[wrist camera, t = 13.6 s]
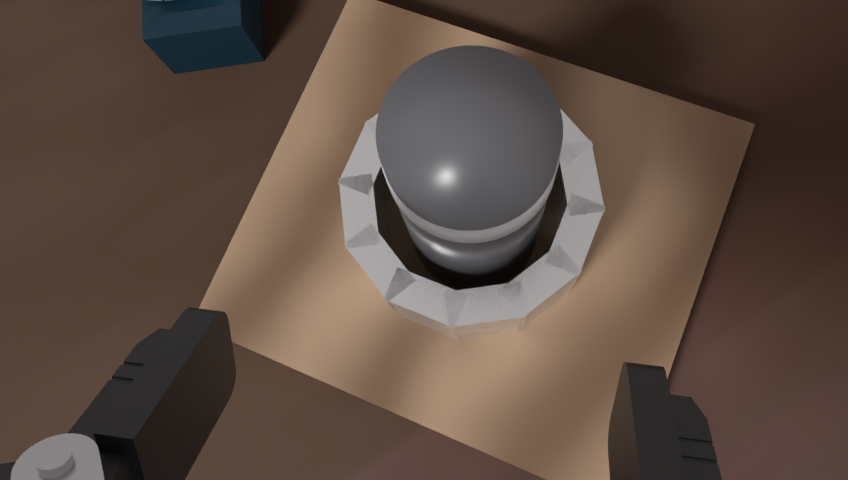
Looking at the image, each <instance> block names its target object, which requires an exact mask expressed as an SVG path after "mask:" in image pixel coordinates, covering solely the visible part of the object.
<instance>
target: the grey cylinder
mask: <svg viewBox="0 0 848 480" xmlns="http://www.w3.org/2000/svg"><path fill="white" fill-rule="evenodd" d="M562 141H563V121H562V114H561V110H560V107H559V103H558V101H557V99H556V97H555V94H554V92H553V91H552V89H551V87H550V86H549V84H548V83H547V81H546V80H545V79H544V78H543V77H542V75H541V74H540V73H539V72H538V71H537V70H535V69H534V68H533V67H532V66H531V65H529V64H528V63H527V62H525V61H524V60H522V59H521V58H519V57H517V56H515V55H513V54H511V53H508V52H506V51H503V50H500V49H496V48H492V47H487V46H478V45H464V46H456V47H451V48H446V49H442V50H439V51H437V52H434V53H431V54H429V55H427V56H425V57H423V58H421V59H420V60H418V61H417V62H415V63H414V64H412V65H411V66H410V67H408V68H407V69H406V70H405V71H404V72H403V73H402V74H401V75H400V76H399V77H398V78H397V79H396V80H395V81H394V83H393V84H392V86H391V87H390V88H389V90H388V91H387V93H386V95H385V97H384V99H383V101H382V104H381V107H380V109H379V113H378V117H377V122H376V146H377V151H378V156H379V159H380V162H381V166H382V171H383V174H384V176H385V179H386V182H387V184H388V187H389V189H390V192H391V194H392V196H393V198H394V200H395V202H396V204H397V205H398V207H399V209H400V212H401V214H402V217H403V219H404V222H405V224H406V227H407V229H408V232H409V234H410V237H411V239H412V242H413V244H414V247H415V249H416V252H417V254H418V256H419V258H420V260H421V261H422V263H423V264H424V266H425V267H426V268H427V269H428V270H429V271H430V272H431V273H432V274H433V275H434V276H435V277H437V278H438V279H440V280H441V281H443V282H445V283H447V284H449V285H451V286H454V287H458V288H462V289H470V288H477V287H484V286H491V285H498V284H502V283H504V282H506V281H508V280H509V279H510V278H512V277H513V276H515V275H516V274H517V273H518V272H519V271H520V270H521V269H522V268H523V267H524V265H525V264H526V263H527V261H528V259H529V258H530V256H531V254H532V251H533V249H534V246H535V242H536V239H537V235H538V231H539V228H540V224H541V221H542V217H543V213H544V210H545V206H546V202H547V199H548V196H549V194H550V192H551V189H552V186H553V183H554V180H555V176H556V173H557V169H558V166H559V161H560V154H561V147H562Z"/></svg>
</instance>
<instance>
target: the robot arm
mask: <svg viewBox="0 0 848 480" xmlns="http://www.w3.org/2000/svg"><path fill="white" fill-rule="evenodd" d="M235 377H236V367H235V360H234V353H233V346H232V339H231V333H230V326H229V320H228V316H227V314H226V313H225V312H223V311H215V310H207V309H199V308H187V309H186V310H185V311H184V312H183V313H182V314H181V316H180V317H179V318H178V320H177V321H176V322H175V324H174V325H173V326H172V328H171V329H170V330H167V329H159V330H157V331H156V332H154V333H153V334H151V335H150V336H148V337H147V338H145V339H144V340H142V341H141V342H139V343H138V344H137V345H136V346H135V348H134V349H133V350H132V352H131V353H130V354H129V355H128V357H127V358H126V359H125V361H124V364H123V365H121V366H120V367H119V368H118V369H117V371H116V372H115V373H114V375H113V376H112V380H109V381H108V382H107V384H106V385H105V386H104V387H103V389H102V390H101V391H100V393H99V394H98V395H97V396H96V398H95V399H94V400H93V401H92V403H91V404H90V405H89V407H88V408H87V409H86V410H85V412H84V413H83V414H82V416H81V417H80V418H79V419H78V421H77V422H76V423H75V425H74V426H73V427H72V428H71V430H70V431H69V432H68V433H67V434H60V435H56V436H52V437H50V438H47V439H44V440H42V441H40V442H38V443H36V444H35V445H33V446H32V447H30V448H29V449H28V450H26V451H25V452H24V453H23V454H22V455H21V456H20V457H19V459H18V460H17V461H16V462H12V463H4V464H0V480H185V478H186V476H187V475H188V473H189V471H190V469H191V467H192V466H193V464H194V462H195V460H196V458H197V456H198V455H199V453H200V451H201V449H202V447H203V446H204V444H205V442H206V440H207V438H208V437H209V435H210V433H211V431H212V429H213V428H214V426H215V424H216V422H217V420H218V419H219V417H220V415H221V413H222V411H223V410H224V408H225V406H226V404H227V402H228V401H229V399H230V397H231V394H232V391H233V388H234V384H235ZM712 442H713V441H712V437H711V433H710V429H709V425H708V421H707V418H706V417H705V415H704V414H703V413H702V411H701V410H700V409H699V407H698V406H697V405H696V404H695V402H694V401H693V400H692V398H691V397H685V396H677V395H670V391H669V386H668V381H667V375H666V371H665V368H664V367H663V366H655V365H646V364H638V363H630V362H624V363H623V365H622V368H621V372H620V377H619V381H618V386H617V390H616V395H615V399H614V404H613V408H612V413H611V417H610V423H609V431H608V459H609V472H610V480H722V478H721V474H720V470H719V466H718V465H717V458H716V454H715V450H714V446H712Z"/></svg>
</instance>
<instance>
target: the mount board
mask: <svg viewBox="0 0 848 480" xmlns="http://www.w3.org/2000/svg"><path fill="white" fill-rule="evenodd" d="M464 45H478V46H487V47H492V48H496V49H500V50H503V51H506V52H508V53H511V54H513V55H515V56H517V57H519V58H521V59H522V60H524V61H525V62H527V63H528V64H529V65H531V66H532V67H533V68H534V69H535V70H537V71H538V72H539V73H540V74H541V75H542V77H543V78H544V79H545V80H546V81H547V83H548V84H549V86H550V87H551V89H552V91H553V92H554V94H555V97H556V99H557V101H558V103H559V107H560V109H561V110H562V111H563V112H564V113H565V114H566V115H567V116H568V117H569V118H570V120H571V121H572V122H573V123H574V124H575V125H576V126H577V127H578V128H579V130H580V131H581V132H582V133H583V134H584V135H585V136H586V137H587V138H588V139H589V141H590V140H591V142H592V144H593V153H594V158H595V163H596V168H597V173H598V178H599V183H600V188H601V193H602V198H603V203H604V206H605V212H604V214H603V216H602V218H601V219H600V221H599V224H598V227H597V229H596V232H595V235H594V237H593V240H592V243H591V245H590V248H589V250H588V253H587V256H586V258H585V261H584V264H583V266H582V269H581V270H582V272H581V274H580V276H579V277H578V279H577V281H576V282H575V284H574V286H573V287H572V289H571V291H570V292H569V293H568V295H565V296H564V297H562V298H561V299H560V300H559V301H557V302H556V303H555V304H553V305H552V306H551V307H550V308H548V309H547V310H546V311H544V312H543V313H542V314H541V315H539V316H538V317H537V318H536V319H534V320H533V321H532V322H530V323H529V324H528V325H527V326H525V327H524V328H523V329H522V331H519V332H518V333H517V332H509V333H502V334H495V335H487V336H480V337H473V338H465V339H460V340H455V339H454V338H453V337H450V336H448V335H445V334H443V333H440V332H438V331H436V330H433V329H431V328H428V327H426V326H423V325H421V324H419V323H416V322H414V321H411V320H409V319H406V318H404V317H403V318H402V317H401V316H399V315H398V314H397V313H396V312H395V311H394V310H393V309H392V308H391V307H390V305H389V304H388V303H387V302H386V301H385V300H384V297H383V295H382V294H381V293H380V291H379V290H378V289H377V287H376V286H375V285H374V283H373V282H372V281H371V279H370V278H369V277H368V275H367V274H366V273H365V271H364V270H363V269H362V267H361V266H360V265H359V264H358V262H357V261H356V260H355V259H354V258H353V256H352V255H351V254H350V253H349V252H348V251H347V250H346V247H345V245H344V243H345V237H344V227H343V217H342V207H341V197H340V187H339V184H338V182H339V178H341V175H342V173H343V171H344V169H345V167H346V165H347V162H348V160H349V158H350V156H351V154H352V151H353V149H354V147H355V145H356V143H357V141H358V138H359V136H360V134H361V132H362V130H363V128H364V123H365V122H366V121H367V120H370V119H371V118H372V117H374V116H375V115H376V114H378V113H379V109H380V107H381V104H382V101H383V99H384V97H385V95H386V93H387V91H388V90H389V88H390V87H391V86H392V84H393V83H394V81H395V80H396V79H397V78H398V77H399V76H400V75H401V74H402V73H403V72H404V71H405V70H406V69H407V68H408V67H410V66H411V65H412V64H414V63H415V62H417V61H418V60H420V59H421V58H423V57H425V56H427V55H429V54H431V53H434V52H437V51H439V50H442V49H446V48H451V47H456V46H464ZM754 126H755V124H753V123H750V122H747V121H744V120H741V119H738V118H735V117H732V116H729V115H726V114H723V113H720V112H717V111H714V110H711V109H708V108H704V107H701V106H698V105H695V104H692V103H689V102H686V101H683V100H680V99H677V98H674V97H671V96H668V95H665V94H662V93H659V92H656V91H653V90H649V89H646V88H643V87H640V86H637V85H634V84H631V83H628V82H625V81H622V80H619V79H616V78H613V77H610V76H607V75H604V74H601V73H598V72H594V71H591V70H588V69H585V68H582V67H579V66H576V65H573V64H570V63H567V62H564V61H561V60H558V59H555V58H552V57H549V56H546V55H543V54H539V53H536V52H533V51H530V50H527V49H524V48H521V47H518V46H515V45H512V44H509V43H506V42H503V41H500V40H497V39H494V38H491V37H488V36H484V35H481V34H478V33H475V32H472V31H469V30H466V29H463V28H460V27H457V26H454V25H451V24H448V23H445V22H442V21H439V20H436V19H433V18H429V17H426V16H423V15H420V14H417V13H414V12H411V11H408V10H405V9H402V8H399V7H396V6H393V5H390V4H387V3H384V2H381V1H378V0H348V1H347V3H346V5H345V7H344V9H343V11H342V13H341V15H340V17H339V19H338V21H337V23H336V25H335V28H334V30H333V32H332V34H331V36H330V38H329V40H328V42H327V44H326V46H325V48H324V50H323V52H322V54H321V56H320V59H319V61H318V63H317V65H316V67H315V69H314V71H313V73H312V75H311V77H310V79H309V81H308V83H307V85H306V87H305V90H304V92H303V94H302V96H301V98H300V100H299V102H298V104H297V106H296V108H295V110H294V112H293V114H292V116H291V118H290V121H289V123H288V125H287V127H286V129H285V131H284V133H283V135H282V137H281V139H280V141H279V143H278V145H277V147H276V150H275V152H274V154H273V156H272V158H271V160H270V162H269V164H268V166H267V168H266V170H265V172H264V174H263V176H262V178H261V181H260V183H259V185H258V187H257V189H256V191H255V193H254V195H253V197H252V199H251V201H250V203H249V205H248V207H247V209H246V212H245V214H244V216H243V218H242V220H241V222H240V224H239V226H238V228H237V230H236V232H235V234H234V236H233V238H232V240H231V243H230V245H229V247H228V249H227V251H226V253H225V255H224V257H223V259H222V261H221V263H220V265H219V267H218V269H217V271H216V274H215V276H214V278H213V280H212V282H211V284H210V286H209V288H208V290H207V292H206V294H205V296H204V298H203V300H202V302H201V305H200V307H199V309H207V310H215V311H223V312H225V313H226V314H227V316H228V320H229V326H230V333H231V339H232V342H234V343H236V344H238V345H241V346H243V347H245V348H247V349H250V350H252V351H254V352H257V353H259V354H261V355H263V356H266V357H268V358H270V359H273V360H275V361H277V362H279V363H282V364H284V365H286V366H288V367H291V368H293V369H295V370H298V371H300V372H302V373H304V374H307V375H309V376H311V377H314V378H316V379H318V380H320V381H323V382H325V383H327V384H330V385H332V386H334V387H336V388H339V389H341V390H343V391H345V392H348V393H350V394H352V395H355V396H357V397H359V398H361V399H364V400H366V401H368V402H371V403H373V404H375V405H377V406H380V407H382V408H384V409H386V410H389V411H391V412H393V413H396V414H398V415H400V416H402V417H405V418H407V419H409V420H412V421H414V422H416V423H418V424H421V425H423V426H425V427H428V428H430V429H432V430H434V431H437V432H439V433H441V434H443V435H446V436H448V437H450V438H453V439H455V440H457V441H459V442H462V443H464V444H466V445H469V446H471V447H473V448H475V449H478V450H480V451H482V452H485V453H487V454H489V455H491V456H494V457H496V458H498V459H500V460H503V461H505V462H507V463H510V464H512V465H514V466H516V467H519V468H521V469H523V470H526V471H528V472H530V473H532V474H535V475H537V476H539V477H542V478H544V479H546V480H610V472H609V459H608V431H609V423H610V417H611V413H612V408H613V404H614V399H615V395H616V390H617V386H618V381H619V377H620V372H621V368H622V365H623V363H624V362H630V363H638V364H646V365H655V366H663V367H664V368H665V371H666V375H667V379H668V376H669V373H670V370H671V367H672V364H673V361H674V358H675V355H676V352H677V349H678V347H679V344H680V341H681V338H682V335H683V332H684V329H685V326H686V323H687V320H688V318H689V315H690V312H691V309H692V306H693V303H694V300H695V297H696V294H697V291H698V289H699V286H700V283H701V280H702V277H703V274H704V271H705V268H706V265H707V262H708V259H709V257H710V254H711V251H712V248H713V245H714V242H715V239H716V236H717V233H718V230H719V228H720V225H721V222H722V219H723V216H724V213H725V210H726V207H727V204H728V201H729V199H730V196H731V193H732V190H733V187H734V184H735V181H736V178H737V175H738V172H739V169H740V167H741V164H742V161H743V158H744V155H745V152H746V149H747V146H748V143H749V140H750V138H751V135H752V132H753V129H754ZM389 220H390V229H391V238H392V246H393V252H394V253H395V255H396V256H397V257H398V258H399V260H400V261H401V262H402V264H403V265H404V266H405V268H406V269H407V270H408V271H409V272H411V273H414V274H416V275H419V276H421V277H424V278H426V279H429V280H431V281H434V282H436V283H439V284H441V285H444V286H446V287H449V288H451V289H454V290H463V289H462V288H458V287H454V286H451V285H449V284H447V283H445V282H443V281H441V280H440V279H438V278H437V277H435V276H434V275H433V274H432V273H431V272H430V271H429V270H428V269H427V268H426V267H425V266H424V264H423V263H422V261H421V260H420V258H419V256H418V254H417V252H416V249H415V247H414V244H413V242H412V239H411V237H410V234H409V232H408V229H407V227H406V224H405V222H404V219H403V217H402V214H401V212H400V209H399V207H398V205H397V204H396V202H395V203H394V205H393V207H392V209H391V212H390V214H389ZM556 233H557V227H556V221H555V216H554V210H553V205H552V199H551V193H550V194H549V196H548V199H547V202H546V206H545V210H544V213H543V217H542V221H541V224H540V228H539V231H538V235H537V239H536V242H535V246H534V249H533V251H532V254H531V256H530V258H529V259H528V261H527V263H526V264H525V265H524V267H523V268H522V269H521V270H520V271H519V272H518V273H517V274H516V275H515V276H513V277H512V278H510V279H509V280H508V281H506V282H504V283H502V284H506V283H509V282H510V281H512V280H513V279H514V278H516V277H517V276H518V275H519V274H521V273H522V272H523V271H525V270H526V269H527V268H528V267H530V266H531V265H532V264H534V263H535V262H536V261H538V260H539V259H540V258H541V257H543V256H544V255H545V254H547V253H548V252H549V251H550V248H551V246H552V243H553V241H554V238H555V236H556Z"/></svg>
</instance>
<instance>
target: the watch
mask: <svg viewBox="0 0 848 480" xmlns="http://www.w3.org/2000/svg"><path fill="white" fill-rule="evenodd" d="M143 41H144V42H145V43H146V44H147V45H148V46H149V47H150V48H151V49H152V50H153V51H154V52H155V53H156V55H157V56H158V57H159V58H160V59H161V60H162V61H163V62H164V63H165V64H166V65H167V66H168V67H169V69H170V70H171V71H172V72H173V73H174V74H176V73H183V72H190V71H197V70H204V69H211V68H218V67H225V66H232V65H239V64H246V63H253V62H260V61H264V47H263V28H262V9H261V0H143Z"/></svg>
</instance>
